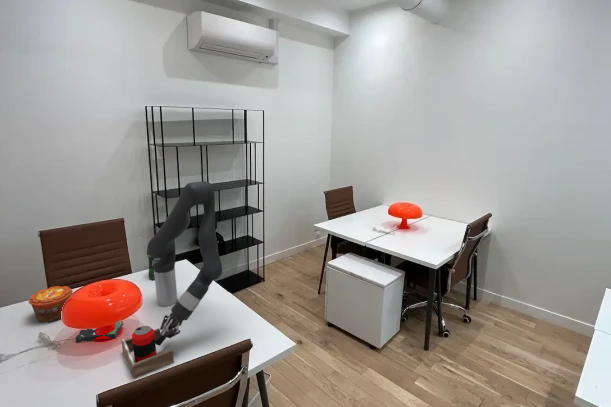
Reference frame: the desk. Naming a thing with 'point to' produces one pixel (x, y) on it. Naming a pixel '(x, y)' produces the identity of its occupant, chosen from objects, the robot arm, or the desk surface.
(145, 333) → the soda can
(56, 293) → the food container
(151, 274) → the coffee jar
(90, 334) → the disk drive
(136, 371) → the frame
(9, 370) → the desk surface
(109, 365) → the desk surface
